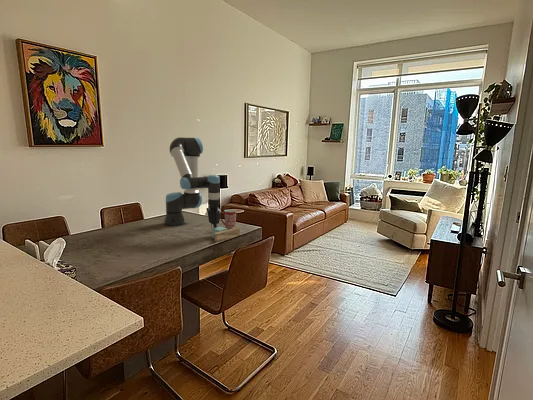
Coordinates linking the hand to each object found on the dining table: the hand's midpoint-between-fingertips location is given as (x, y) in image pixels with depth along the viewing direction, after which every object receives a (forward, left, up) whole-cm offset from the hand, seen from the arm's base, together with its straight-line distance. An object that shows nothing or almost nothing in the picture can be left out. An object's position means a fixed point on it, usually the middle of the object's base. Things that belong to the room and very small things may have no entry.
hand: (214, 233), depth 212 cm
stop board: (+10, +2, -1) cm, 10 cm away
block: (+6, 0, -2) cm, 6 cm away
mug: (-6, +19, -2) cm, 20 cm away
